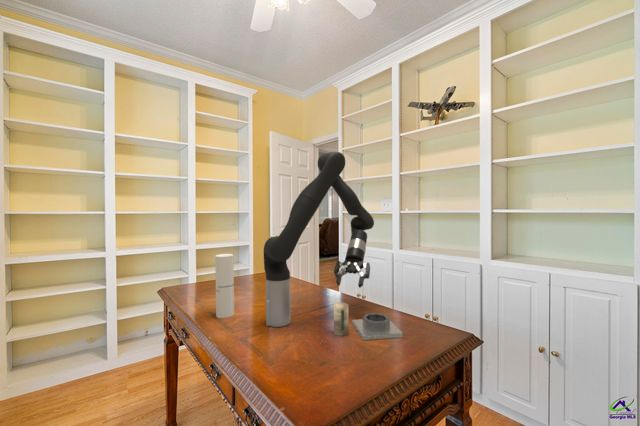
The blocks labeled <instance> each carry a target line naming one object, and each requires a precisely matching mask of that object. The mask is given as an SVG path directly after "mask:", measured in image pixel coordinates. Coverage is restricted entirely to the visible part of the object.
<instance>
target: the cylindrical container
mask: <svg viewBox="0 0 640 426" xmlns="http://www.w3.org/2000/svg"><path fill="white" fill-rule="evenodd" d="M214 262H215V264H214V265H215V271H214V272H215V316H216V318H218V319H226V318H227V319H228V318H230V317H232V316H234V315H235V290H234V289H235V287H234V286H235V285H234V282H235V281H234V276H235V275H234V254H232V253H220V254H215V256H214Z"/></svg>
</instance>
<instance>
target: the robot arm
mask: <svg viewBox="0 0 640 426" xmlns="http://www.w3.org/2000/svg"><path fill="white" fill-rule="evenodd" d="M345 166H346V158H345V155H344V154H343V153H342V152H339V151H331V152H326V153H323V154H321V155H320V156H319V157H318V159H317V167H318V170H319V173H318V175H316V177H315V178H314V179H313V180H312V181H311V182H310V183H308V185H306V186H305V187H304V188H303V189H302V191H300V193H299V194H298V196H297V198H296V199H295V201H294V203H293V205H292V206H291V209H290V212H289V215H288V216H289V217H288V220H287V222H286V225H285V226H284V228H283V230H281V232H280V233H279V235H278V236H272V237H269V238H268V239H267V240H266V241H265V243H264V245H263V266H264V267H263V268H264V273H265V295H266V297H265V298H266V299H265V322H266V323H265V325H266V327H272V328H279V327H280V328H281V327H285V326H287V325H289V324H290V323H291V271H290V269H289V267H288V263H287V261H288V260H289V259H290V258H291V256H292V255H293V253H294V251H295V249H296V246H297V245H298V242H299V240H300V238H301V237H302V234H303V233H304V231H305V229H306V228H307V226H308V225H309V223H310V221H312V218H313V217H314V215H315V214H316V212H317V210H318V209H319V207H320V205H321V204H322V201H323V200H324V198H325V197H326V196H327V193H328V192H329V190H330V188H332V189H333V190H334V192H335V193H336V194H337V195H338V197H339V199H340V201H341V202H342V204H343V206H344V208H345V210H346V211H347V214H348V215H350V216H355V217H353V218H351V220H350V231H351V236H350V240H349V243H348V245H347V251H346V254H345V259H344V261H343V262H342V261H340V260H337V261H336V263H335V266H334V269H333V274H334V276H335V277H336V280H335V282H336V285H337V286H341V284H342V283H341V282H342V277H343V276H346V274H353V275H354V274H355V275H356V274H358V276H359V279H358V284H357V285H358V289H359V288H362V287H363V286H364V281H365V279H367V280H368V279H370V273H371V265H370V262H366V263H364V260H365V254H366V246H367V241H368V240H367V239H368V233H367V232H366V231H367V230H372V228H374V225H375V220H374V217H373V216H372V214H370V212H369V211H368V210H367V209H365V207H364V206H363V205H362V203H361V201H360V200H359V197H358V196H357V194H356V192H355V191H354V190H353V189H352V188H351V186H349V185H348V184H347V183H346V181H345V180H344V179H343V177H341V174H342V173H343V171H344V169H345ZM342 266H343V267H342ZM362 269H365V273H363V271H362Z"/></svg>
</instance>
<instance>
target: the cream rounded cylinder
mask: <svg viewBox="0 0 640 426" xmlns="http://www.w3.org/2000/svg"><path fill="white" fill-rule="evenodd" d="M333 334H334V335H335V336H337V337H338V336H339V337H345V336H347V335H349V304H348V303H346V302H335V303H333Z"/></svg>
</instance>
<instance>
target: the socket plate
mask: <svg viewBox="0 0 640 426" xmlns="http://www.w3.org/2000/svg"><path fill="white" fill-rule="evenodd" d="M351 322H352V325H353V327H354V328H355V331H357V333H358V335H359V336H360V337H361V340H362V341H372V340H373V341H374V340H383V339H385V340H386V339H396V338H397V339H398V338H403V337H404V335H403V332H402V330H400V329H399V328H398V327H397V326H396V324H395V323H394V322H392V321H391V319H390V318H389V317H388V316H387V315H386V314H382V313H378V312H375V313H373V312H372V313H366V314H365V315H364V316H362V318H361V319H360V318H359V319H352V321H351Z"/></svg>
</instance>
